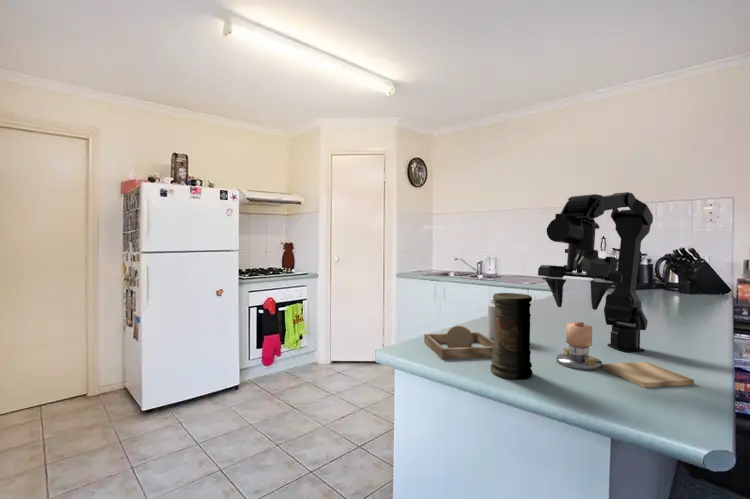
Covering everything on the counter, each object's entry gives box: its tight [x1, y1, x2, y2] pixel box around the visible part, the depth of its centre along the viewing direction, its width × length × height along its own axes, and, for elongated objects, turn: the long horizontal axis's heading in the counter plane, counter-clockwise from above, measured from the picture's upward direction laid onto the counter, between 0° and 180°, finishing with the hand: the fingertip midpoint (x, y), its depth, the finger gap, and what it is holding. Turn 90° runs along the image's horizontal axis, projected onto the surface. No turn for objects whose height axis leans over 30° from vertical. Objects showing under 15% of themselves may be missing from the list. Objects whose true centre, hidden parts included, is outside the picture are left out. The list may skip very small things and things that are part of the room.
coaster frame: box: [423, 331, 494, 360], centre depth 107 cm, size 17×16×2 cm
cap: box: [565, 321, 593, 347], centre depth 94 cm, size 6×8×5 cm
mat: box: [601, 361, 695, 389], centre depth 86 cm, size 12×12×1 cm
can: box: [487, 298, 495, 341], centre depth 118 cm, size 8×8×12 cm
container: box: [490, 292, 533, 381], centre depth 87 cm, size 9×9×18 cm
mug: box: [446, 325, 473, 348], centre depth 107 cm, size 8×10×10 cm
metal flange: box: [555, 344, 603, 371], centre depth 94 cm, size 10×10×5 cm
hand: (577, 308), depth 94 cm, fingers open, 9 cm apart
